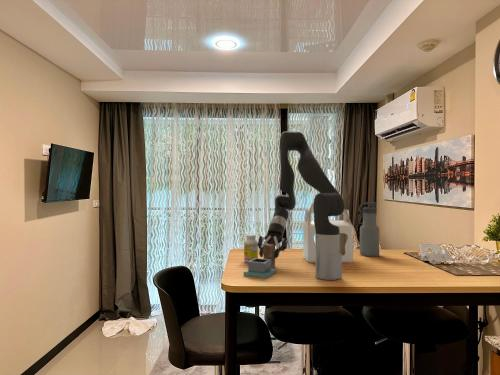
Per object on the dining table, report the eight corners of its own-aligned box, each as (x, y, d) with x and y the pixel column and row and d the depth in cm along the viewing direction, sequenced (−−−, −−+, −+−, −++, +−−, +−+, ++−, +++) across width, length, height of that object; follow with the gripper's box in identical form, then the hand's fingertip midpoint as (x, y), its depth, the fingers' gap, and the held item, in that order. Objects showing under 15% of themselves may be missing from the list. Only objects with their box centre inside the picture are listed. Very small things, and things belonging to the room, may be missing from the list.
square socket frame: (271, 269, 138) (271, 259, 138) (264, 273, 132) (264, 263, 132) (255, 267, 141) (255, 258, 141) (248, 271, 135) (248, 261, 135)
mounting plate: (275, 272, 139) (275, 268, 139) (266, 278, 130) (266, 274, 130) (253, 270, 143) (253, 266, 143) (243, 275, 134) (243, 271, 134)
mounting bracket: (449, 266, 159) (444, 244, 164) (455, 263, 153) (450, 241, 158) (423, 266, 160) (419, 244, 164) (428, 263, 154) (424, 240, 159)
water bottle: (355, 254, 178) (355, 202, 178) (364, 252, 185) (364, 201, 185) (373, 257, 171) (373, 202, 171) (382, 255, 177) (382, 202, 178)
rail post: (275, 266, 151) (275, 244, 151) (271, 268, 147) (271, 245, 147) (266, 265, 152) (266, 243, 153) (263, 267, 149) (263, 244, 149)
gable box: (307, 262, 159) (307, 203, 159) (302, 257, 172) (302, 202, 172) (353, 262, 159) (353, 203, 160) (345, 256, 172) (345, 202, 173)
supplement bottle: (242, 260, 163) (242, 234, 163) (255, 259, 165) (255, 233, 165) (246, 263, 157) (246, 235, 157) (259, 262, 159) (259, 235, 159)
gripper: (261, 221, 160) (250, 250, 149) (289, 223, 154) (281, 253, 143) (265, 231, 164) (255, 260, 154) (293, 233, 158) (285, 263, 148)
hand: (268, 256), depth 148 cm, fingers open, 6 cm apart
